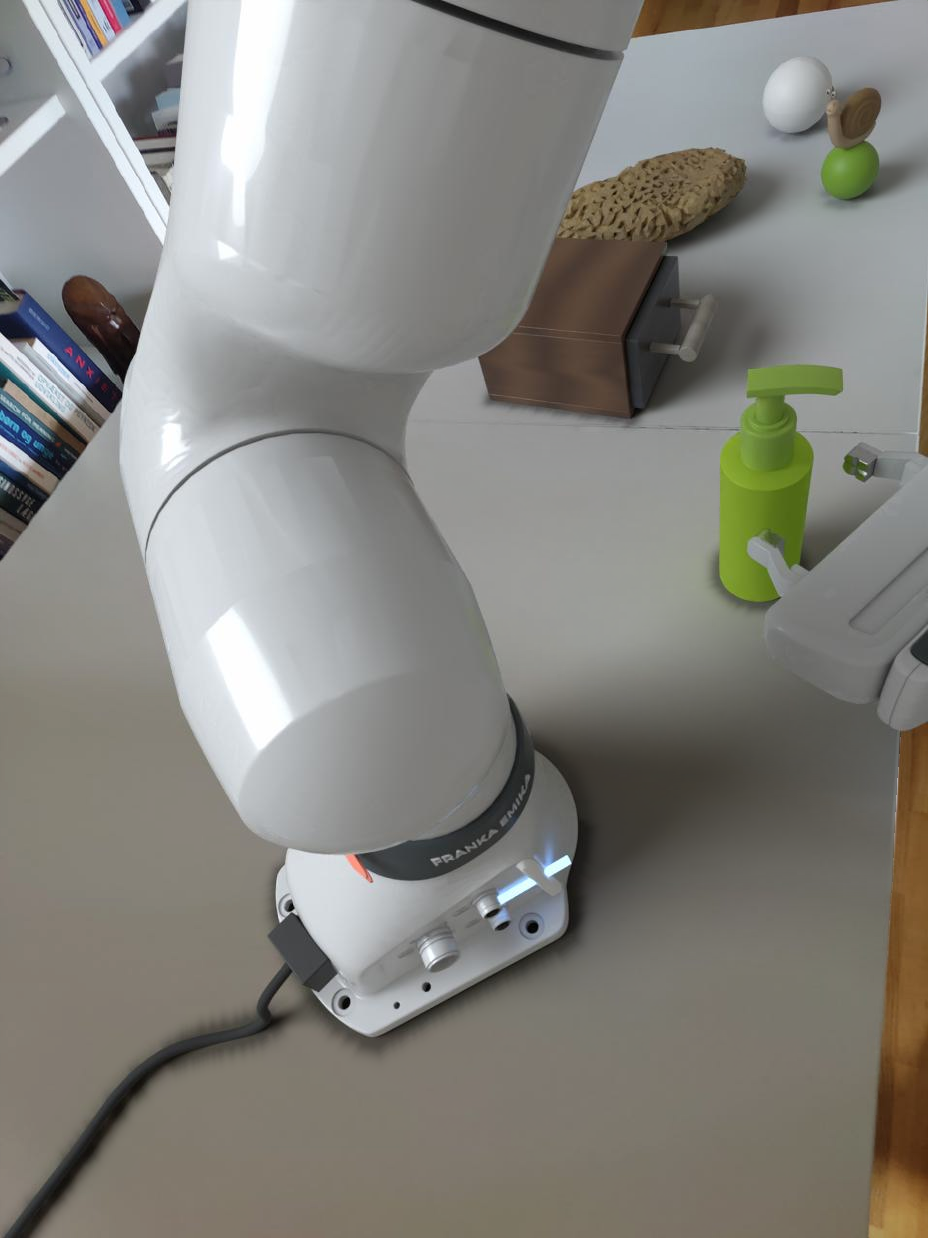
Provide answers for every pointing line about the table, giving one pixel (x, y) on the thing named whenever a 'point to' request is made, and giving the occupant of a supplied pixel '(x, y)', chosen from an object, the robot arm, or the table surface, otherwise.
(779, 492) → the soap dispenser
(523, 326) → the cabinet
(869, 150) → the snail figurine
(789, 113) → the white egg
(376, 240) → the robot arm
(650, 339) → the drawer
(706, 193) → the sponge
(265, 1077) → the table surface
